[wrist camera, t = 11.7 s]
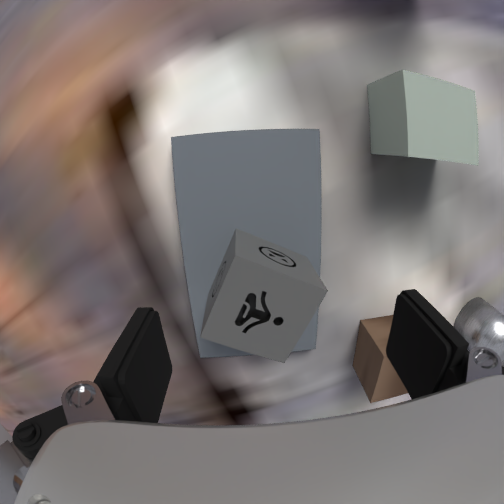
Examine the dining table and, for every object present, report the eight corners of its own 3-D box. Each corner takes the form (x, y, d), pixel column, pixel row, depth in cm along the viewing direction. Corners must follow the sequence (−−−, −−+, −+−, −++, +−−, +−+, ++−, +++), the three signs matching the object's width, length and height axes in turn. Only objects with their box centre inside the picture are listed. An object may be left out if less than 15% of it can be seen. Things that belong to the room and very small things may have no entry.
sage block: (432, 97, 17) (474, 91, 12) (435, 159, 18) (478, 165, 13) (366, 85, 16) (402, 69, 12) (370, 153, 18) (408, 156, 13)
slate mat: (315, 130, 17) (319, 129, 16) (312, 341, 23) (315, 348, 22) (174, 138, 17) (171, 137, 16) (201, 349, 22) (200, 357, 21)
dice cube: (235, 228, 18) (235, 255, 13) (306, 256, 19) (327, 290, 14) (208, 294, 20) (200, 337, 15) (274, 317, 20) (284, 363, 16)
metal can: (490, 294, 23) (524, 320, 17) (477, 333, 24) (507, 362, 19) (460, 301, 23) (497, 332, 17) (448, 342, 24) (478, 376, 19)
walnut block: (418, 309, 22) (447, 340, 18) (407, 353, 24) (430, 385, 19) (360, 319, 22) (383, 356, 18) (352, 364, 24) (370, 402, 19)
